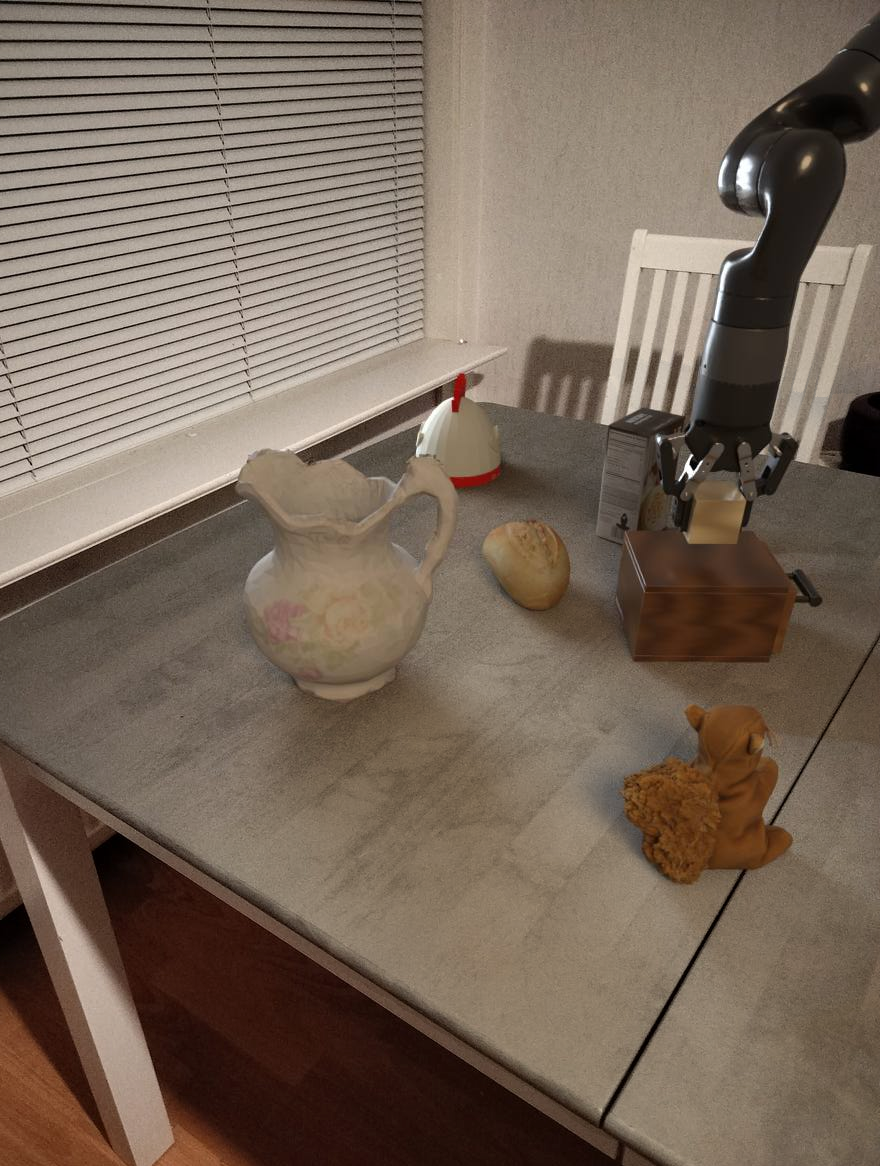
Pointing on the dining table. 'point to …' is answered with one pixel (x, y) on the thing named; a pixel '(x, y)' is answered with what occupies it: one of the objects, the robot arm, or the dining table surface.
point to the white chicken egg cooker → (461, 439)
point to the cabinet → (698, 598)
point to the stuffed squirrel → (709, 799)
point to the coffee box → (634, 475)
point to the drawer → (793, 597)
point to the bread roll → (529, 562)
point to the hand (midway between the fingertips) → (708, 528)
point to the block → (715, 513)
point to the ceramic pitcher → (340, 569)
